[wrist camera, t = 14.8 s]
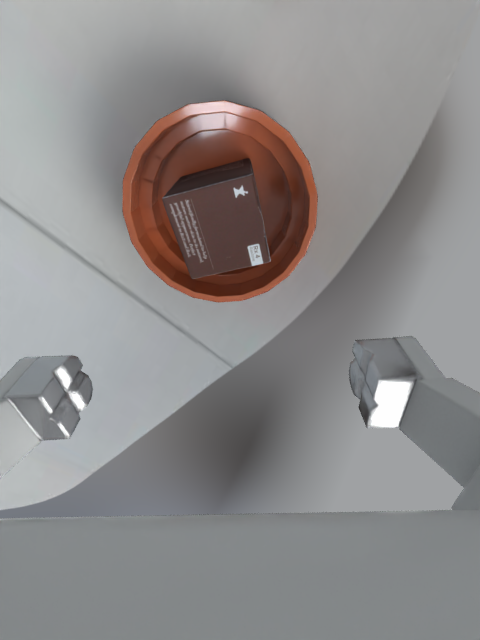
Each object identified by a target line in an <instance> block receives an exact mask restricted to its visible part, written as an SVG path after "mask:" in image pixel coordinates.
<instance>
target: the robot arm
mask: <svg viewBox="0 0 480 640" xmlns="http://www.w3.org/2000/svg"><path fill="white" fill-rule="evenodd" d="M352 352H353V354H354V356H355V359H354V360H353V361H352V362H351V363H350V369H349V376H350V377H349V378H350V384H351V388H352V391H353V393H354V395H355V396H356V397H358V398H359V399H360V404H359V410H360V412H361V415H362V417H363V420H364V422H365V425H366V427H367V428H399V429H400V430H401V431H402V432H403V433H404V434H405V435H406V436H407V437H408V438H410V439H411V440H412V441H413V442H414V443H415V444H416V445H417V446H418V447H420V448H421V449H422V450H423V451H424V452H425V453H426V454H427V455H428V456H430V457H431V458H432V459H433V460H434V461H435V462H436V463H437V464H438V465H439V466H440V467H442V468H443V469H444V470H445V471H446V472H447V473H448V474H449V475H451V476H452V477H453V478H454V479H455V480H456V481H457V482H458V483H459V484H460V485H461V486H463V487H464V489H463V490H462V492H461V493H460V495H459V496H458V498H457V499H456V501H455V502H454V504H453V506H452V510H431V511H430V510H429V511H382V512H381V511H380V512H325V513H324V512H322V513H268V514H214V515H161V516H114V517H113V516H112V517H111V516H110V517H109V516H107V517H59V518H58V517H56V518H8V519H0V640H480V393H479V392H477V391H475V390H473V389H472V388H470V387H468V386H466V385H464V384H462V383H460V382H458V381H457V380H455V379H453V378H445V376H444V375H443V374H442V372H441V371H440V370H439V369H438V367H437V366H436V365H435V363H434V362H433V361H432V359H431V358H430V357H429V355H428V354H427V353H426V351H425V350H424V349H423V347H422V346H421V345H420V344H419V342H418V341H417V340H416V338H414V337H412V336H406V337H393V338H383V339H366V340H355V343H354V344H353V350H352ZM82 366H83V365H82V363H81V361H80V360H79V358H78V357H76V356H42V357H25V358H23V359H20V360H19V361H18V362H17V363H16V364H15V365H14V366H13V367H12V368H11V369H10V370H9V371H8V373H7V374H6V375H5V376H4V377H3V378H2V379H1V380H0V479H1V478H2V477H3V476H4V475H5V474H6V473H7V472H9V471H10V470H11V469H12V468H13V467H14V466H15V465H16V464H17V463H18V462H20V461H21V460H22V459H23V458H24V457H25V456H26V455H27V454H28V453H30V452H31V451H32V450H33V449H34V448H35V447H36V446H37V445H38V444H39V443H41V441H42V440H57V439H70V437H71V435H72V433H73V431H74V430H75V428H76V426H77V424H78V422H79V420H80V416H79V412H80V411H82V410H83V409H84V408H86V407H87V406H88V404H89V402H90V400H91V396H92V390H93V388H92V383H91V380H90V378H89V376H88V375H86V374H85V373H83V372H82V371H81V369H82Z"/></svg>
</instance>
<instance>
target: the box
mask: <svg viewBox="0 0 480 640" xmlns="http://www.w3.org/2000/svg"><path fill="white" fill-rule="evenodd" d="M162 201H163V204H164V207H165V210H166V212H167V215H168V218H169V221H170V224H171V226H172V229H173V231H174V234H175V237H176V239H177V242H178V245H179V248H180V250H181V253H182V255H183V258H184V261H185V263H186V266H187V268H188V271H189V274H190V276H191V278H192V279H196V278H200V277H205V276H209V275H214V274H218V273H223V272H227V271H231V270H236V269H241V268H245V267H250V266H255V265H259V264H264V263H268V262H270V261H271V258H270V253H269V247H268V243H267V237H266V232H265V227H264V221H263V216H262V211H261V205H260V200H259V195H258V190H257V185H256V180H255V176H254V171H253V167H252V163H251V160H250V159H249V158H246V159H243V160H239V161H235V162H232V163H228V164H224V165H221V166H217V167H214V168H210V169H206V170H203V171H199V172H196V173H192V174H189V175H185V176H182V177H180V178H179V179H178V181H177V182H176V183H175V184H174V185H173V186H172V187H171V189H170V190H169V191H168V192H167V193H166V195H165V196H164V197H163V198H162Z"/></svg>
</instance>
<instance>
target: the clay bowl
mask: <svg viewBox="0 0 480 640" xmlns="http://www.w3.org/2000/svg"><path fill="white" fill-rule="evenodd" d="M246 158H249V159H250V160H251V163H252V167H253V171H254V176H255V180H256V185H257V190H258V195H259V200H260V205H261V211H262V216H263V221H264V227H265V232H266V237H267V243H268V247H269V253H270V258H271V261H270V262H268V263H264V264H259V265H255V266H250V267H245V268H241V269H236V270H231V271H227V272H223V273H218V274H214V275H209V276H205V277H200V278H196V279H192V278H191V276H190V274H189V271H188V268H187V266H186V263H185V261H184V258H183V255H182V253H181V250H180V248H179V245H178V242H177V239H176V237H175V234H174V231H173V229H172V226H171V224H170V221H169V218H168V215H167V212H166V210H165V207H164V204H163V201H162V198H163V197H164V196H165V195H166V193H167V192H168V191H169V190H170V189H171V187H172V186H173V185H174V184H175V183H176V182H177V181H178V179H179V178H180V177H182V176H185V175H189V174H192V173H196V172H199V171H203V170H206V169H210V168H214V167H217V166H221V165H224V164H228V163H232V162H235V161H239V160H243V159H246ZM317 195H318V194H317V190H316V186H315V182H314V178H313V174H312V171H311V167H310V163H309V161H308V160H307V158H306V157H305V155H304V153H303V152H302V150H301V149H300V147H299V146H298V144H297V143H296V141H295V140H294V138H293V137H292V135H291V134H290V132H288V131H287V130H286V129H284V128H283V127H282V126H280V125H279V124H278V123H277V122H275V121H274V120H273V119H271V118H270V117H269V116H267V115H266V114H265V113H263V112H262V111H260V110H257V109H254V108H251V107H247V106H244V105H240V104H237V103H233V102H230V101H226V100H220V101H211V102H201V103H191V104H187V105H185V106H183V107H181V108H180V109H178V110H176V111H174V112H172V113H170V114H169V115H167V116H165V117H163V118H161V119H159V120H158V121H157V122H155V123H154V125H153V126H152V127H151V128H150V129H149V131H148V132H147V133H146V134H145V135H144V137H143V138H142V139H141V140H140V141H139V143H138V144H137V145H136V146H135V148H134V150H133V153H132V156H131V158H130V161H129V164H128V167H127V170H126V173H125V175H124V178H123V215H124V219H125V222H126V225H127V229H128V232H129V235H130V239H131V242H132V244H133V245H134V247H135V248H136V250H137V251H138V253H139V255H140V256H141V258H142V259H143V261H144V262H145V264H146V265H147V266H148V268H149V269H150V270H152V271H153V272H154V273H155V274H156V275H157V276H158V277H159V278H161V279H162V280H163V281H164V282H165V283H166V284H167V285H169V286H171V287H173V288H175V289H177V290H179V291H181V292H183V293H185V294H187V295H189V296H191V297H193V298H198V299H203V300H208V301H213V302H231V301H243V300H246V299H249V298H251V297H254V296H257V295H260V294H263V293H265V292H267V291H269V290H270V289H272V288H273V287H275V286H276V285H277V284H279V283H280V282H281V281H283V280H284V279H286V278H287V277H288V276H289V275H290V274H291V273H292V271H293V270H294V269H295V267H296V266H297V265H298V263H299V262H300V261H301V260H302V258H303V257H304V256H305V254H306V252H307V249H308V246H309V244H310V241H311V239H312V236H313V233H314V231H315V228H316V218H317V202H318V196H317Z"/></svg>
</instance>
